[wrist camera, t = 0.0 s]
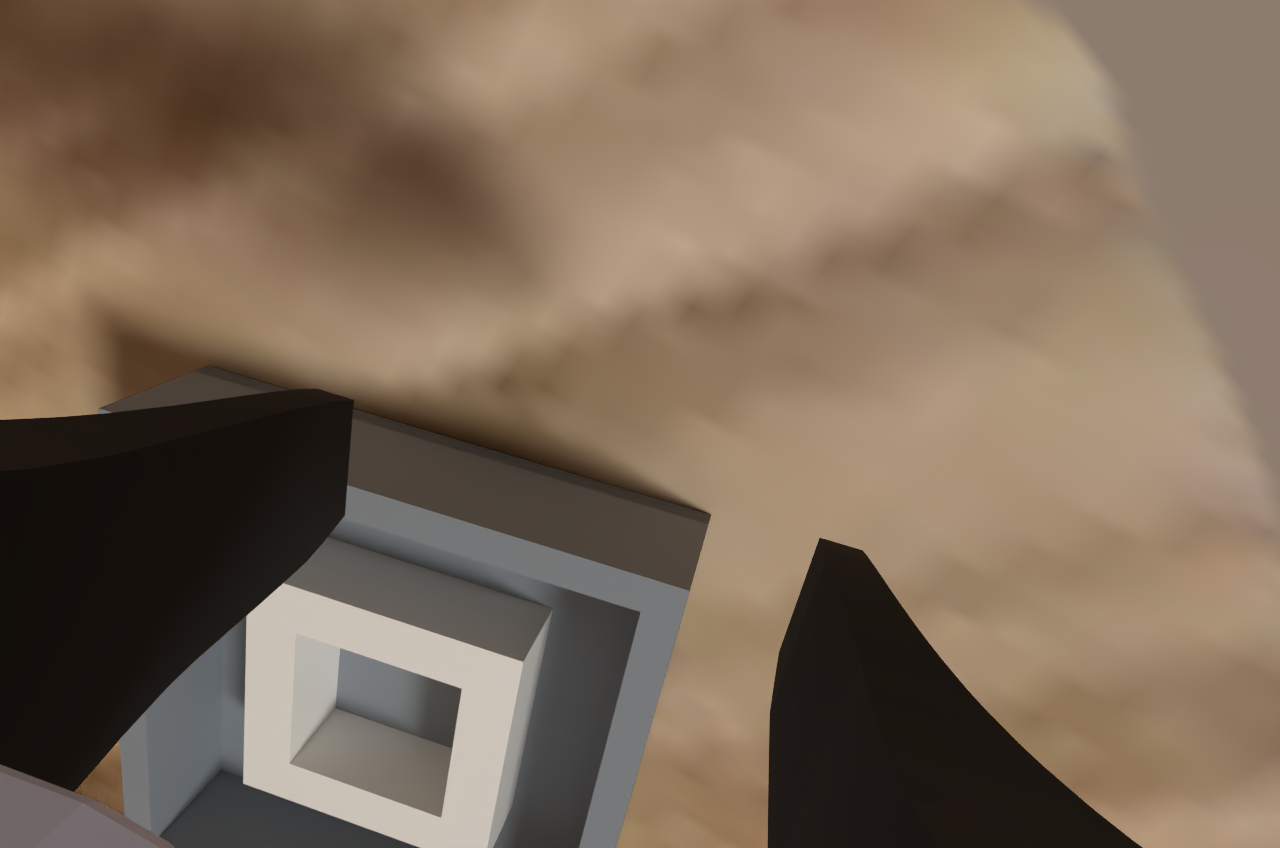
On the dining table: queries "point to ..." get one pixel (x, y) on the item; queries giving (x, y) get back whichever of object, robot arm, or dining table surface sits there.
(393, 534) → the walled box
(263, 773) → the inlet socket
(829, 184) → the dining table surface
